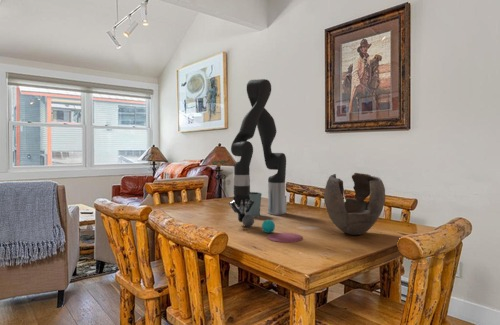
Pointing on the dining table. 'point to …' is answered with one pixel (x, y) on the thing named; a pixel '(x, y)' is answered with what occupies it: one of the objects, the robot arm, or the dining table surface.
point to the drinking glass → (255, 204)
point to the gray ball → (248, 220)
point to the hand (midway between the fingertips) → (241, 221)
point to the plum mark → (284, 237)
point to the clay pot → (355, 203)
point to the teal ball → (268, 226)
